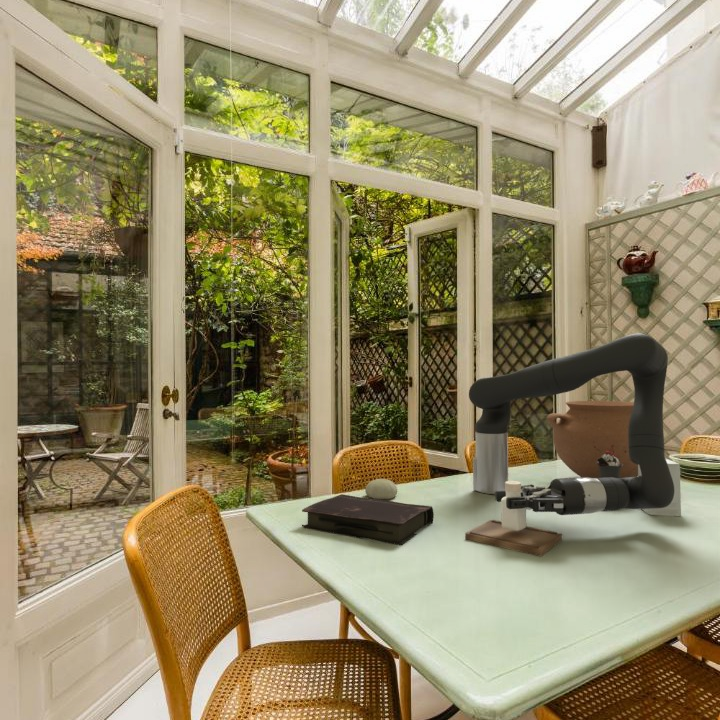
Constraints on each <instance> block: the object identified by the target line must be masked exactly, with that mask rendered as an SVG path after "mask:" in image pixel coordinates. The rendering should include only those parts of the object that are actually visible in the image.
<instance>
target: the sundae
mask: <svg viewBox="0 0 720 720" xmlns="http://www.w3.org/2000/svg"><path fill="white" fill-rule="evenodd" d="M613 446H614V445H611V448H612V449H613ZM610 450H611V449H610ZM610 450H609V451H610ZM609 451H606V453H605V454H603V455H602V457H600V458H598V459H597V461H598V462H597V463H596V464H597V465H598V466H599V471H600V478H604V477H612V478H619V474H620V468H621V467H622V466H623V464H622V463H619V460H618V459H617V458H616V457H615V456H616V455H615V454H614V451H613V453H610V452H609Z"/></svg>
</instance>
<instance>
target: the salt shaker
mask: <svg viewBox="0 0 720 720" xmlns="http://www.w3.org/2000/svg"><path fill="white" fill-rule="evenodd" d="M521 486H522V483H521V482H520V481H517V480H516V481H515V480H508V481H506V482H505V492H506V496H505V497H503V498H502V499H501V502H500V507H501V509H500V510H501V521H502V527H503V528H506V529H510V530H515V531H519V530H521V529H523V528H525V527H526V526H527V509H526V507H525V508H522V509H508V508H507V507H506V499H507V498H508V497H521Z"/></svg>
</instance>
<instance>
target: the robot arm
mask: <svg viewBox="0 0 720 720" xmlns="http://www.w3.org/2000/svg"><path fill="white" fill-rule="evenodd" d="M668 360H669V358H668V353H667V351H666V349H665V347H664V346H663V345H661V344H660V343H659V342H658V341H657V340H656V339H655V338H654V337H652V336H650V335H649V334H646V333H640V332H639V333H633V334H629V335H625V336H622V337H619V338H617V339H615V340H612V341H609V342H607V343H605V344H601V345H599V346H597V347H593V348H589V349H587V350H583V351H580V352H579V351H578V352H576V353H572V354H568V355H564V356H561V357H556V358H552V359H548V360H544V361H541V362H539V363H537V364H532V365H530V366H527V367H525V368H522V369H519V370H517V371H516V370H515V371H514V372H511V373H508V374H503V375H498V376H490V377H483V378H482V377H481V378H479V379H476V380H475V382H473V383H472V384H471V386H470V388H469V391H468V398H469V400H470V402H471V403H472V405H473V406H475V407H477V408H478V409H481V410H482V412H481V416H480V418H479V419H477V421H476V422H475V425H474V426H475V427H474V428H475V429H474V430H475V431H474V432H475V433H474V434H475V436H474V437H475V456H474V457H473V458H472V478H473V479H472V480H473V481H472V482H473V483H472V485H473V487H472V489H473V491H477V492H479V493H481V494H488V495H494V496H495V497H494V498H495V502H498V503H501V499H502V498H503V497H505V496H506V492H505V482H506V481H509V445H508V444H509V442H508V441H509V437H508V436H509V435H508V432H509V430H508V428H509V425H510V422H511V411H512V410H511V407H512V402H511V401H514V400H520V399H521V400H522V399H530V398H531V399H532V398H534V399H535V398H543V397H549V396H555V395H559V394H564V393H568V392H571V391H574V390H575V391H576V390H577V389H579V388H580V387H582V386H584V385H585V384H587V383H588V382H590V381H591V380H592V379H595V378H596V377H600V376H603V375H608V374H612V373H617V372H624V371H627V372H628V373H630V374H631V377H632V380H633V381H632V383H633V389H634V401H633V402H634V405H633V409H632V412H631V416H630V420H629V426H628V447H629V458H630V460H631V461H632V462H633V463H635V464H638V465H639V466H640V470H641V475H642V476H636V477H627V478H612V477H604V478H587V477H580V476H579V477H565V478H554V479H553V480H551V482H550V484H549V486H548V487H547V488H546V487H545V486H541V485H537V486H535V485H534V484H525V485H521V497H508V498H507V499H506V507H507V508H508V509H522V508H525V507H526V510H528V511H531V510H532V512H533V513H556V514H558V515H559V516H568V515H569V516H571V515H586V514H587V515H588V514H594V513H600V512H616V511H620V510H642V509H653V508H664V507H667V506H668V505H670V503H671V502H672V500H673V497H674V483H673V480H672V477H671V473H670V470H669V467H668V464H667V462H666V459H667V458H666V457H665V436H664V434H665V433H664V418H663V417H664V411H663V410H664V397H665V395H664V394H665V384H666V377H667V371H668V362H669V361H668Z"/></svg>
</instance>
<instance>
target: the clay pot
mask: <svg viewBox="0 0 720 720" xmlns="http://www.w3.org/2000/svg"><path fill="white" fill-rule="evenodd" d="M565 405H566V406H568V407H569V409H568V410H567V411H566V412H565V413H564V414H563V413H557V412H556V413H555V412H554V413H549V414H548V415H547V417H546V421H547V423H548V424H549V425H550V426H551V428H552V441H553V445H554V446H553V447H554V449H555V452H556V454H557V456H558V457H559V458H560V460H561V461H562V463H563V464H564V465H566V467H567V468H569V470H571V472H573V473H575V474H576V475H577V476H579V478H580V477H587V478H600V471H599V466H598V465H597V464H596V463H597V462H598V461H597V459H598V458H600V457H602V455H603V454H605V453H606V451H609V450H610V449H611V450H610V451H609V452H610V453H613V451H614V454H615V455H616V456H615V457H616V458H617V459H618V460H619V463H622V464H623V466H622V467H621V468H620V474H619V478H627V477H636V476H638V464H635V463H633V462H632V461H631V460H630V458H629V447H628V426H629V420H630V416H631V412H632V409H633V405H634V401H622V400H621V401H619V400H617V401H616V400H572V401H566V402H565ZM557 419H558V421H557V422H556V420H557ZM611 445H614V446H613V449H612V448H611Z"/></svg>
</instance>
